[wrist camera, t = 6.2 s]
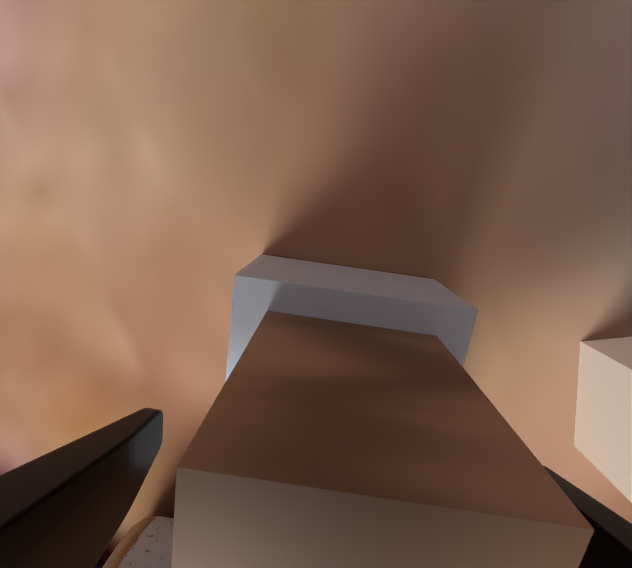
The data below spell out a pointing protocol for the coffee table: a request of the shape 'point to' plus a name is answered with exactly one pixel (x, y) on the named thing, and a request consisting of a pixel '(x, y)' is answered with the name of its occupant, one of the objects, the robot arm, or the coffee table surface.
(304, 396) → the walnut block
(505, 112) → the coffee table surface
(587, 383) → the cream block
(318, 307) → the light gray block
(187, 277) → the coffee table surface
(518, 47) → the coffee table surface
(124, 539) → the ceramic mug
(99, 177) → the coffee table surface
